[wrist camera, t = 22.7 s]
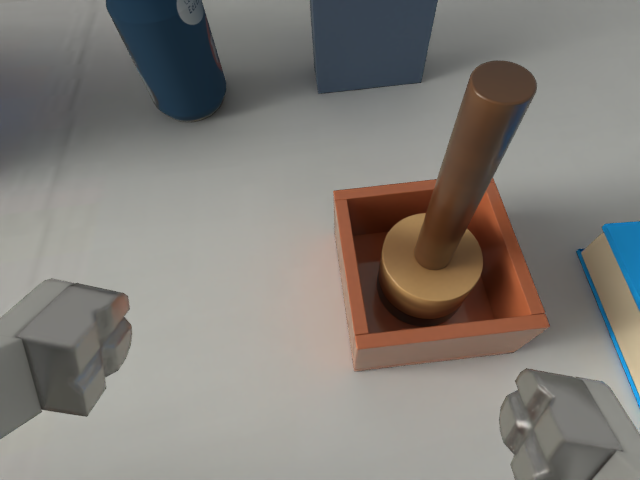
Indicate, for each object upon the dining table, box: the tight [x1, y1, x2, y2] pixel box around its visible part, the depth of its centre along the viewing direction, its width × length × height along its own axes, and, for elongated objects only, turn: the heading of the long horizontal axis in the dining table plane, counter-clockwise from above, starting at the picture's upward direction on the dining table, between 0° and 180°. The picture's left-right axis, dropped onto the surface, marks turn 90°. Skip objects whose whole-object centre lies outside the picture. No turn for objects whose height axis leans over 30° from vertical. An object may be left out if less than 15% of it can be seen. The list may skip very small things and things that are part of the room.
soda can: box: [106, 0, 226, 122], centre depth 35 cm, size 7×7×12 cm
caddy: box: [333, 178, 550, 371], centre depth 28 cm, size 11×11×6 cm
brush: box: [377, 61, 537, 327], centre depth 23 cm, size 15×6×15 cm
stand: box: [310, 0, 438, 94], centre depth 35 cm, size 4×10×14 cm, turn 96°
